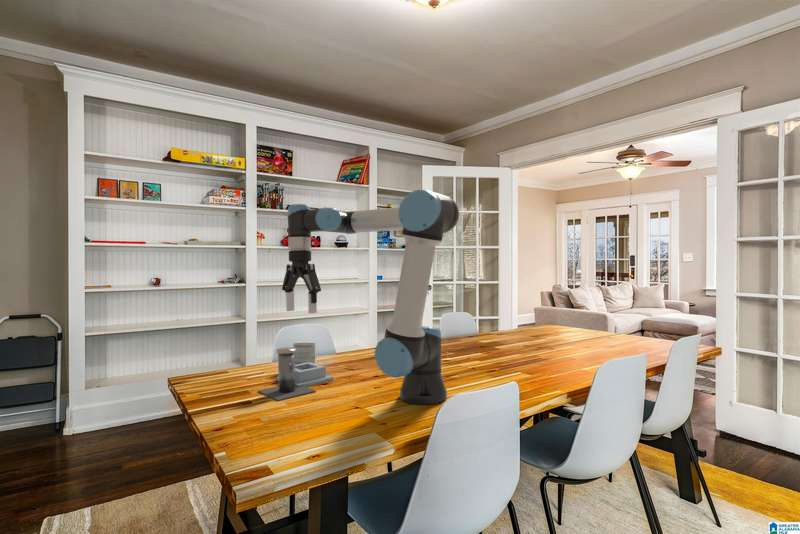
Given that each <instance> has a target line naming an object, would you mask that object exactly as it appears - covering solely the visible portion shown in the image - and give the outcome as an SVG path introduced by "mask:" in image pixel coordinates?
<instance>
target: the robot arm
mask: <svg viewBox="0 0 800 534" xmlns="http://www.w3.org/2000/svg"><path fill="white" fill-rule="evenodd" d="M459 218H460V211H459V206H458V205H457V202H455V201H454V200H453V198H451V197H449V196H447V195H445V194H441V193H439V192H435V191H432V190H430V189H415V190H413V191H410V192H409V193H408V194H407V195H405V196H404V197H403V198H402V200H401V202H400V204H399V206H398V207H390V208H377V209H376V208H375V209H365V210H355V211H341V210H338V209H337V208H336V207H322V208H313V209H311V206H310V205H309V204H303V203H298V204H297V203H295V204H294V203H293V204H291V205H289V206H288V208H287V229H288V231H287V232H288V239H287V241H288V249H289V251H288V261H289V262H290V263H291V264H286V271H285V275H284V277H283V278H284V279H283V284H282V287H281V290H282V291H284V292H285V300H286V302H285V303H286V304H285V305H286V306H285V308H286V312H294V311H295V290H294V289H295V286H296V284H297V282H298V280H299V278H301V279H303V282H304V284H305V286H306V288H307V290H308V293H307V298H308V299H307V303H308V304H307V305H308V309H307V311H308V314H310V315H311V314H316V313H317V312H318V311H317V310H318V308H317V302H318V293H320V292H322V288H321V283H320V281H319V278H318V276H317V271H316V266H315V263H309V262H311V261H312V251H311V250H312V249H311V248H312V243H311V242H312V239H311V238H312V233H313V232H328V233H339V234H340V233H342V234H346V235H348V234H349V235H352V234H357V233H370V232H374V233H375V232H390V231H391V232H392V231H402V232H401V236H402V237H403V239H404V240H405V246H404V251H403V252H404V253H403V259H402V264H401V267H400V268H401V269H400V274H399V275H400V276H399V280H398V286H397V292H396V298H395V304H394V309H393V314H392V315H393V316H392V321H391V322H390V323H388V324H387V325H386V327H385V332H384V338H382V339H381V340H379V342H378V343H377V344H376V346H375V350H374V359H375V363H376V365H377V366H378V367H379V370H380V371H381V372H382V373H383V374H385V375H386V376H387V377H390V378H395V379H396V378H402V377H403V380H402V384H401V387H400V390H399V399H400V400H401V401H403V402H406V403H407V404H413V405H420V406H421V405H422V406H423V405H426V406H427V405H437V404H439V402H440V403H442V401H443V402H445V401H446V400H447V399H448V398H447V397H448V393H447V392H448V391H447V388H446V385H445V382H444V379H443V375H442V338H443V337H442V331H441V329H440V328H438V327H437V326H436V327H435V326H424V325H422V323H423V317H424V313H425V307H426V301H427V296H428V295H427V294H428V290H429V284H430V279H431V274H432V269H433V262H434V256H435V251H436V247H437V246H438V245H439V244H441V243H442V242H443V237H444V234H446V233H449V232H450V231H451V230H453V229H454V228H455V226H456V225H457V223H458V222H459ZM310 249H311V250H310ZM444 400H445V401H444Z"/></svg>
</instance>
